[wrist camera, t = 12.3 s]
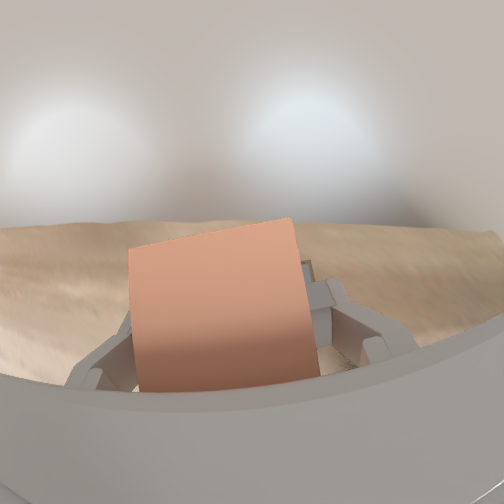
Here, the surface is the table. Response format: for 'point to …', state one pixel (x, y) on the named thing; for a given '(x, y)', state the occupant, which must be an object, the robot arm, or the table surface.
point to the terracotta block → (221, 310)
